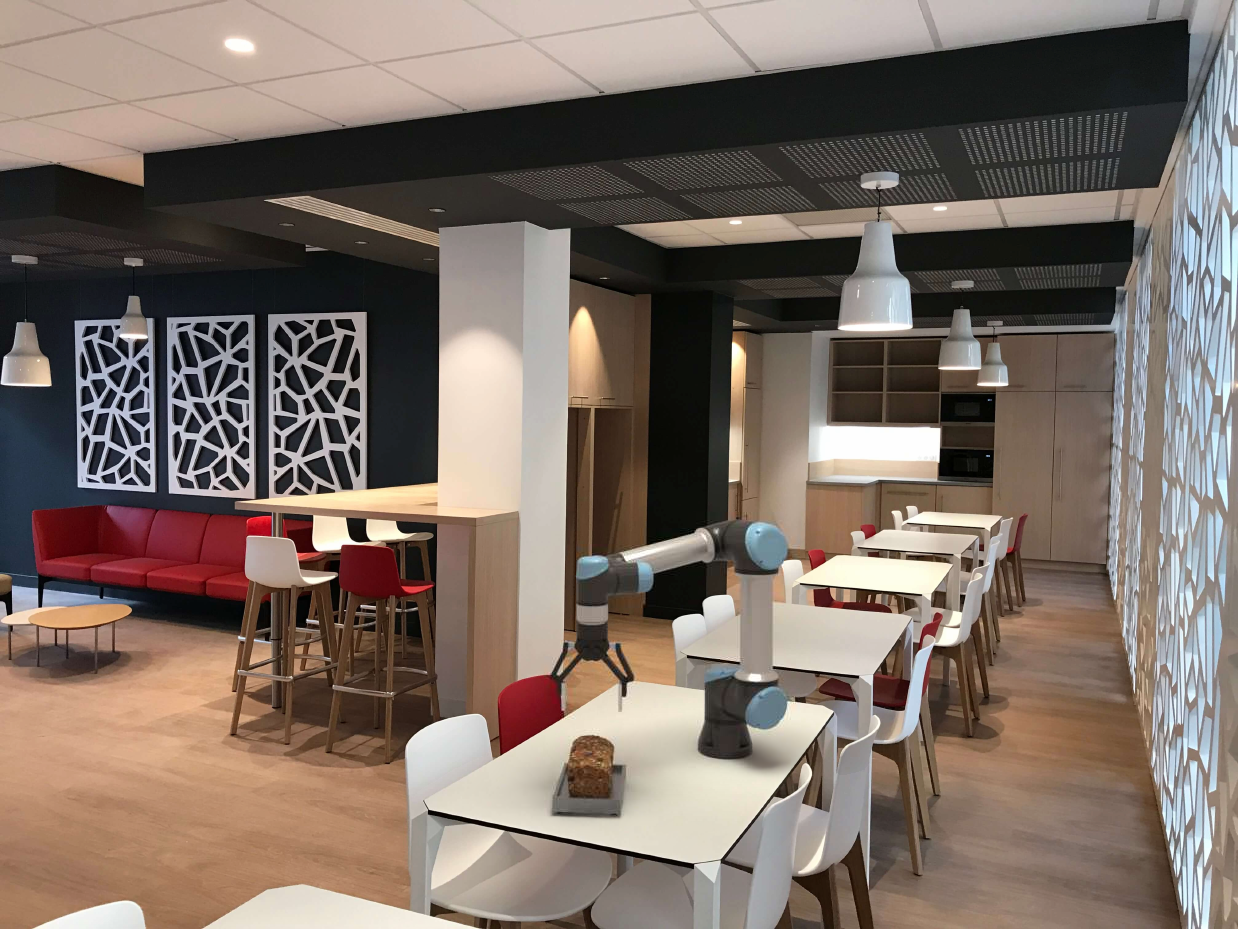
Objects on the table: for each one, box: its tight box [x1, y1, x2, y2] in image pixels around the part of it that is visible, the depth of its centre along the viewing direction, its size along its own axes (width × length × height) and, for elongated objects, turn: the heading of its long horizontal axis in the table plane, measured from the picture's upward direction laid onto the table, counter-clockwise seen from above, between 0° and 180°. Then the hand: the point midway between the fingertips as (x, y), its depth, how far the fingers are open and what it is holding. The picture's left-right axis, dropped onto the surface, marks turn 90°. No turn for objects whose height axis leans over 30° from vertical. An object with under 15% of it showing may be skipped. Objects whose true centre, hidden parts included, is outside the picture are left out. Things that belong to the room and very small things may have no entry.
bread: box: [567, 734, 615, 798], centre depth 230 cm, size 19×11×10 cm, turn 177°
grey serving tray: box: [551, 762, 627, 816], centre depth 231 cm, size 16×24×4 cm, turn 176°
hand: (591, 709), depth 230 cm, fingers open, 13 cm apart
